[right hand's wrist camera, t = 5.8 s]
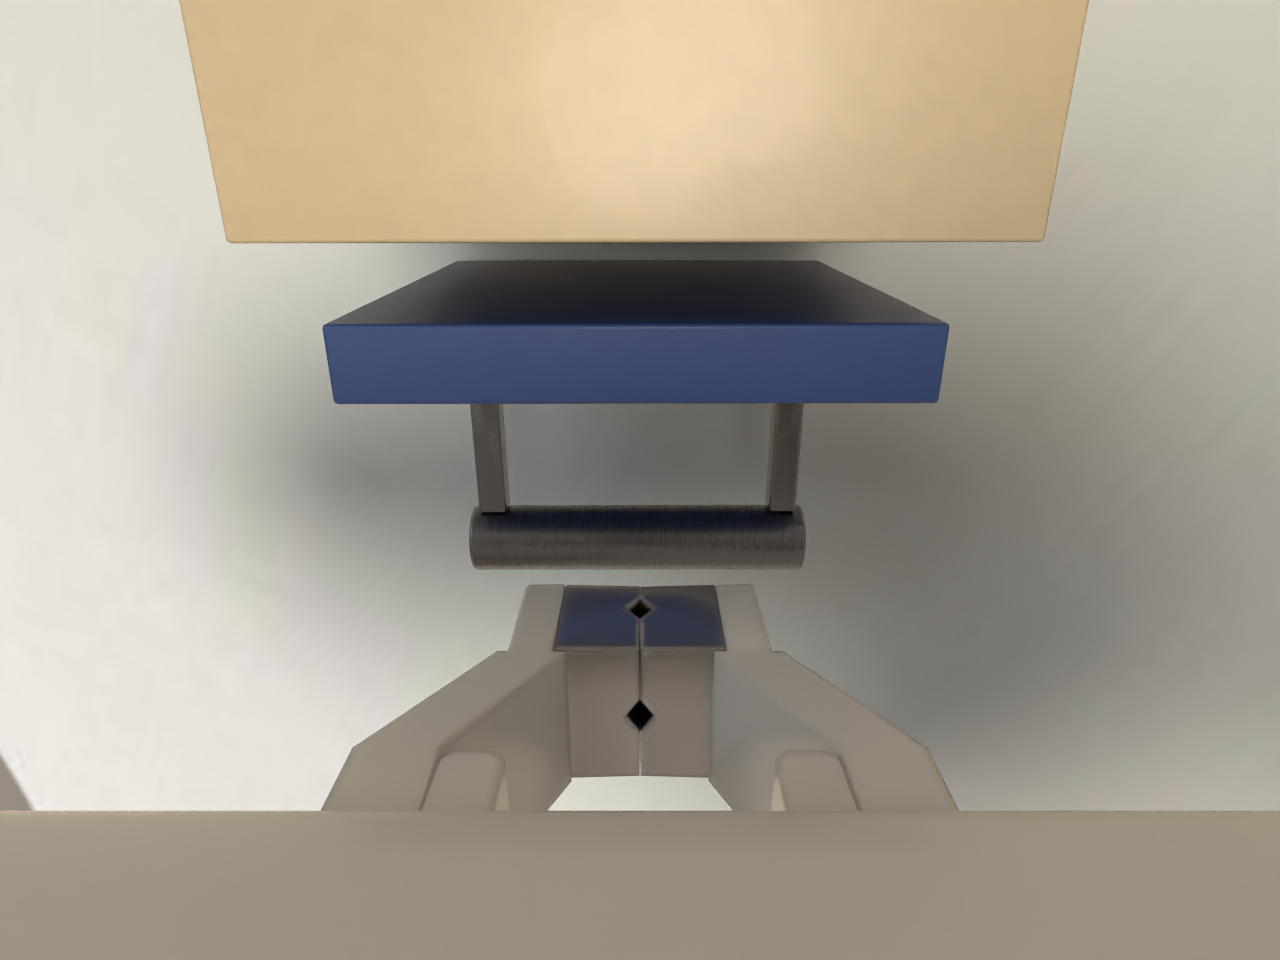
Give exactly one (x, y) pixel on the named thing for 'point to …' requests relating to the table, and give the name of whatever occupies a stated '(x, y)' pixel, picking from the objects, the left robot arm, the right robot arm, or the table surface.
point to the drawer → (636, 383)
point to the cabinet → (634, 119)
